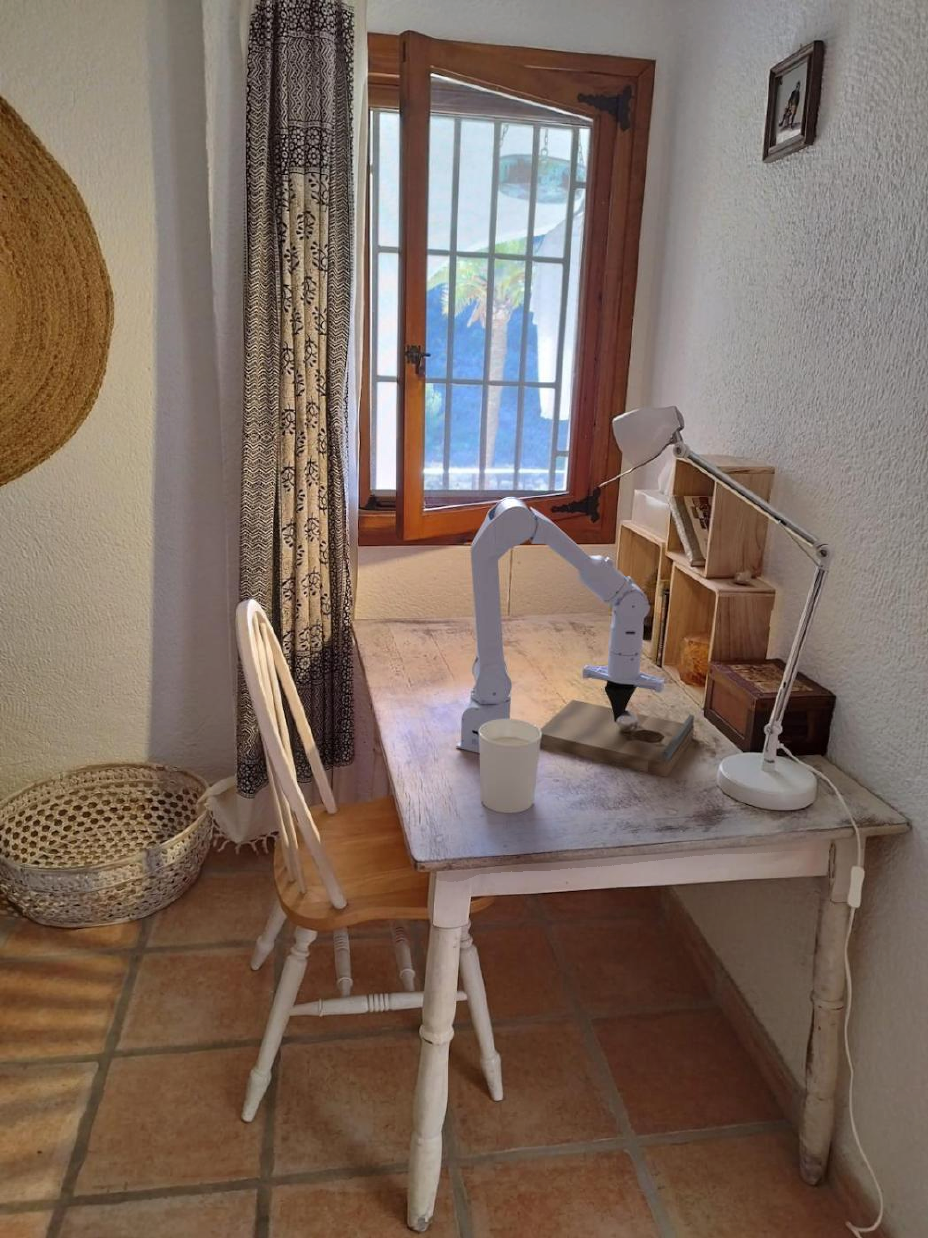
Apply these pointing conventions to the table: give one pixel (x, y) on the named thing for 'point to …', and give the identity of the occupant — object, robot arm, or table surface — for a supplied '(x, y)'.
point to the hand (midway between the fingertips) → (619, 720)
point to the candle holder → (508, 764)
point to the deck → (617, 738)
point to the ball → (627, 721)
